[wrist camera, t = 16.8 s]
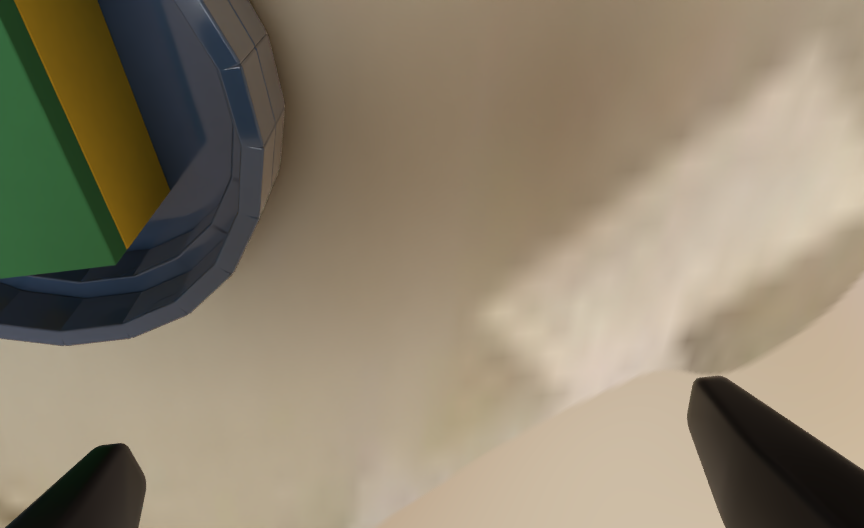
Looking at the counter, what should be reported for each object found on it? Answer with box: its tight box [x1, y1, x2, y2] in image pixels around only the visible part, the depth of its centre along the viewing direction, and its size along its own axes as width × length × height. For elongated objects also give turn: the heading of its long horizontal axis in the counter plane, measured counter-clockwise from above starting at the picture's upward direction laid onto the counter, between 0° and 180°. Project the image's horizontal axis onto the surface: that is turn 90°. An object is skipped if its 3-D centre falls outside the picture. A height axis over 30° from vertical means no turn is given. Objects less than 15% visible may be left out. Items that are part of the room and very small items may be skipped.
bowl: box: [0, 0, 285, 346], centre depth 16 cm, size 13×13×4 cm
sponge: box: [0, 0, 170, 279], centre depth 16 cm, size 7×4×4 cm, turn 6°
